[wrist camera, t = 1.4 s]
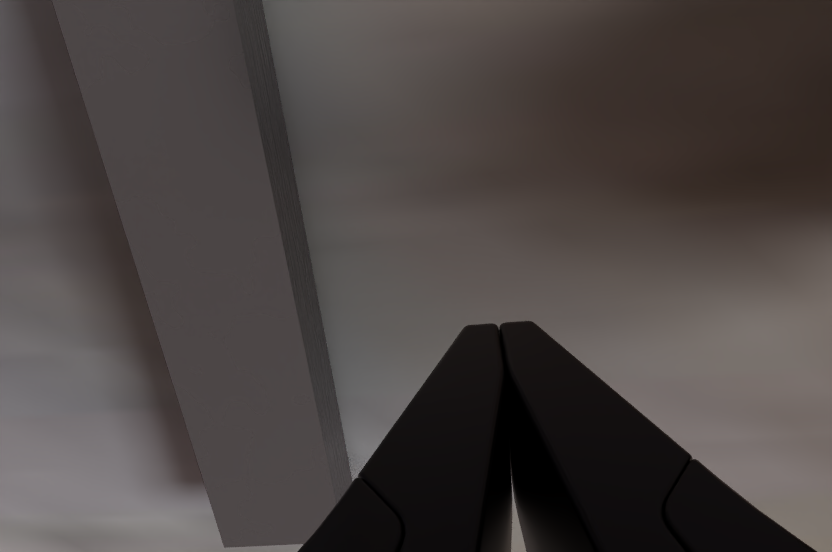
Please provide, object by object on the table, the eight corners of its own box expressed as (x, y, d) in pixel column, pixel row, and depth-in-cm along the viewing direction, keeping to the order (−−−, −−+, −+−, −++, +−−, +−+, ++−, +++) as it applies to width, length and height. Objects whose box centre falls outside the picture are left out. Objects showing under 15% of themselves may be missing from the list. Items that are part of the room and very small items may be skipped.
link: (-46, -363, 15) (-146, -417, 12) (234, -405, 15) (190, -470, 12) (216, 491, 26) (192, 556, 24) (380, 482, 26) (373, 547, 23)
